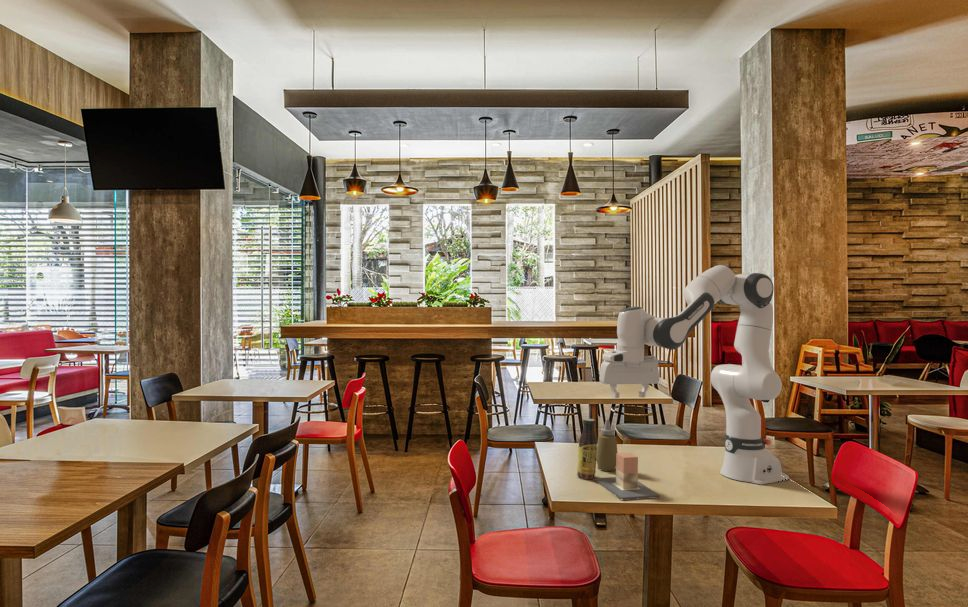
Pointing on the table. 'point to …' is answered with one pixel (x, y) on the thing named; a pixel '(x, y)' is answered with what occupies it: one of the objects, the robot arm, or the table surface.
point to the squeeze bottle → (606, 448)
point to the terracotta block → (626, 462)
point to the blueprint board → (626, 493)
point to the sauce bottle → (587, 451)
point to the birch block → (626, 480)
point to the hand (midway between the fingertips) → (629, 397)
